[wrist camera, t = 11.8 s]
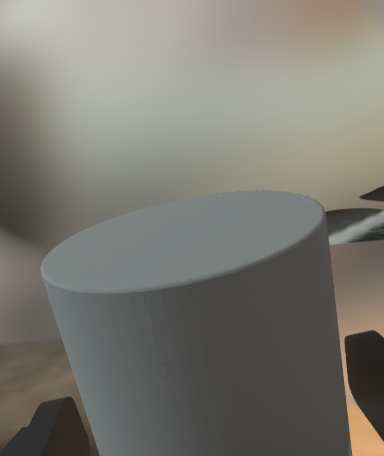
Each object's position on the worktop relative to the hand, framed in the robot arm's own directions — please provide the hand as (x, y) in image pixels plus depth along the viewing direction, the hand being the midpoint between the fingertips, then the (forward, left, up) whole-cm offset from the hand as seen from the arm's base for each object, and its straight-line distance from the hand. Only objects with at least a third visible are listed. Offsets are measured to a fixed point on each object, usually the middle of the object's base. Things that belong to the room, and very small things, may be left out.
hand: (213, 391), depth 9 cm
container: (-2, -1, -10) cm, 10 cm away
